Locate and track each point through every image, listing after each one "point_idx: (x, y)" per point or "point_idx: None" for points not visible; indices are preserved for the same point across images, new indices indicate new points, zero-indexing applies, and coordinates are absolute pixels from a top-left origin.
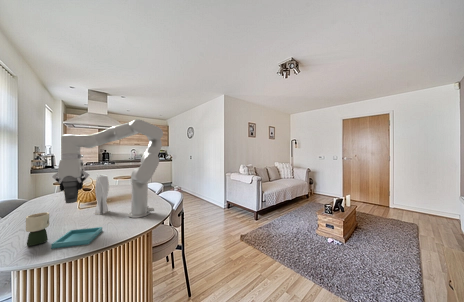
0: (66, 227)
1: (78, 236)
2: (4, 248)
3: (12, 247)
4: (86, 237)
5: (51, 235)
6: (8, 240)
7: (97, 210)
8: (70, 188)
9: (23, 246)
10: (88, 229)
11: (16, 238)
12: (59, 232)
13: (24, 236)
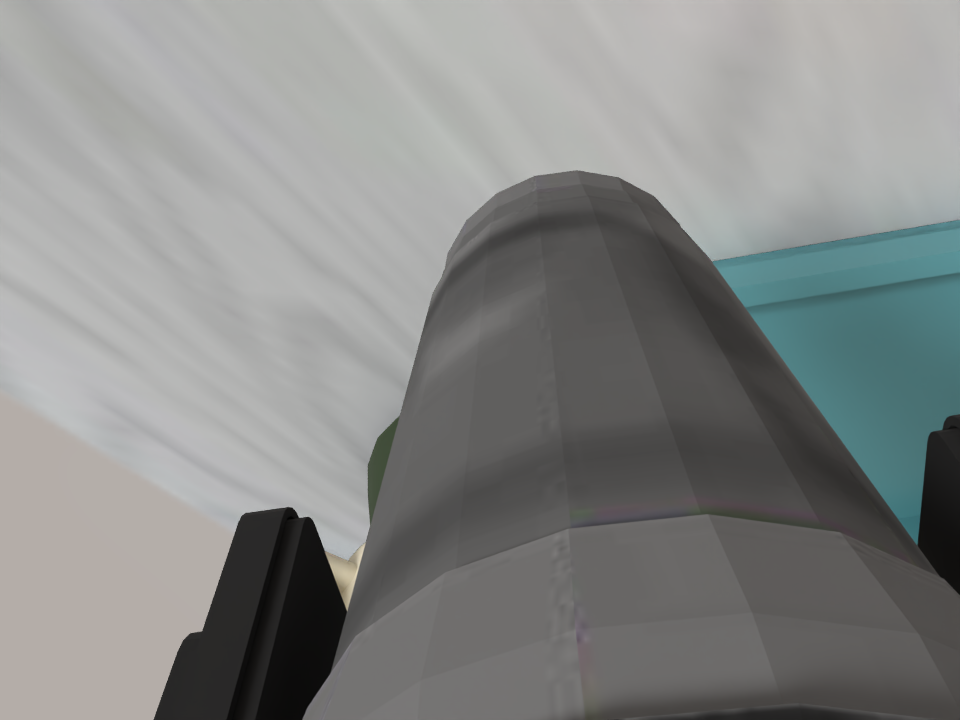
0: (400, 11)
1: (832, 379)
2: (211, 518)
3: (269, 507)
4: (944, 409)
5: (422, 284)
6: (14, 371)
7: None
8: None
9: (361, 498)
10: (909, 273)
11: (45, 330)
12: (451, 201)
13: (79, 285)
